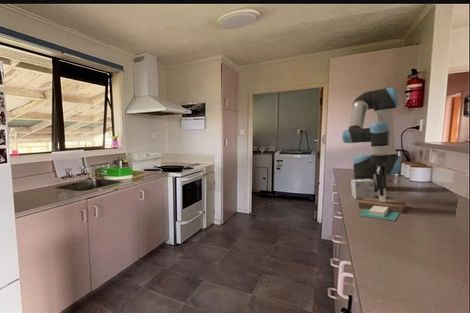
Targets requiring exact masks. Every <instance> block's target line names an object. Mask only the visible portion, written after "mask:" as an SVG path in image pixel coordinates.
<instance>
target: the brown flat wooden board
mask: <svg viewBox="0 0 470 313" xmlns="http://www.w3.org/2000/svg"><path fill="white" fill-rule="evenodd" d="M406 204H407V203H406V200H403V199H402V200H399V199H392V198H391V199H389V198H386V202H379V197H377V198H376V197H375V198H369V197H365V198H364V199H360V201H358V209H364V210H365V209H371V208H372V207H373V206H382V207H388V209H389V211H390V212H398V213H400V214H402V213H403V212H404V210H405V208H406V207H407V206H406Z"/></svg>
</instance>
